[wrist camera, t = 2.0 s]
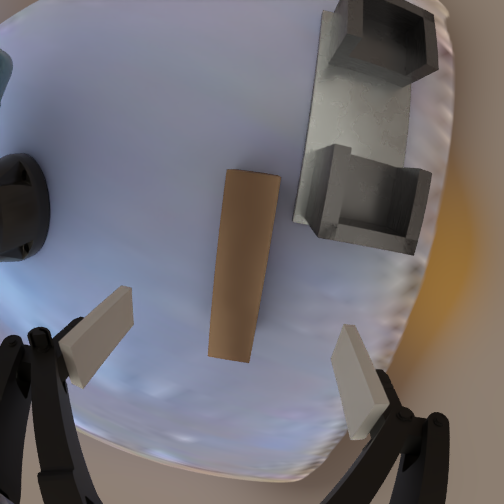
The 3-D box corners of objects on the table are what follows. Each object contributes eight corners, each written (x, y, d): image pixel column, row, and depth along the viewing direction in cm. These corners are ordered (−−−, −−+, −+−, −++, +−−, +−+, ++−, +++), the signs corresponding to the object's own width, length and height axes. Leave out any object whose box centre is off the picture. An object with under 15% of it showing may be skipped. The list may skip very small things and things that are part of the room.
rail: (217, 323, 30) (207, 356, 25) (236, 169, 25) (226, 169, 19) (252, 329, 30) (249, 362, 25) (277, 175, 25) (280, 177, 19)
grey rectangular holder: (292, 220, 26) (302, 242, 18) (321, 14, 19) (336, -27, 11) (384, 237, 26) (421, 263, 18) (406, 42, 19) (441, 15, 11)
